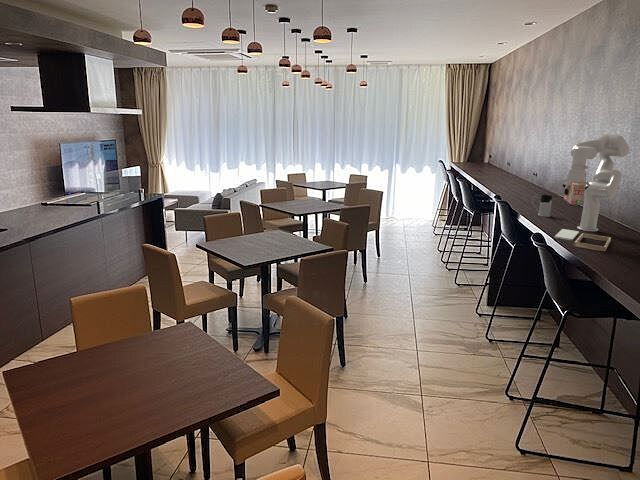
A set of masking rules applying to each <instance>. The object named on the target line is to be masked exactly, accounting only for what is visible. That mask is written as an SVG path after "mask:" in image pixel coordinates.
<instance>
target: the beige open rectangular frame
mask: <svg viewBox="0 0 640 480" xmlns="http://www.w3.org/2000/svg"><path fill="white" fill-rule="evenodd" d="M583 238H584V239H589V240H590V239H591V240H596V241H604V242H606V243H605V244H604V246H602V245H598V244H597V245H596V244H591V243H583V242H581V241H582V239H583ZM611 240H612V237H610V236H604V235H598V234H597V235H596V234H592V233H591V234H589V233H581V234H580V235H579V236H578V237H577V238H576V239H575V241H574V242H573V247H574V248H583V249H587V250H593V251H601V252H606V250H607V249H608V247H609V245H610V243H611Z"/></svg>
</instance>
